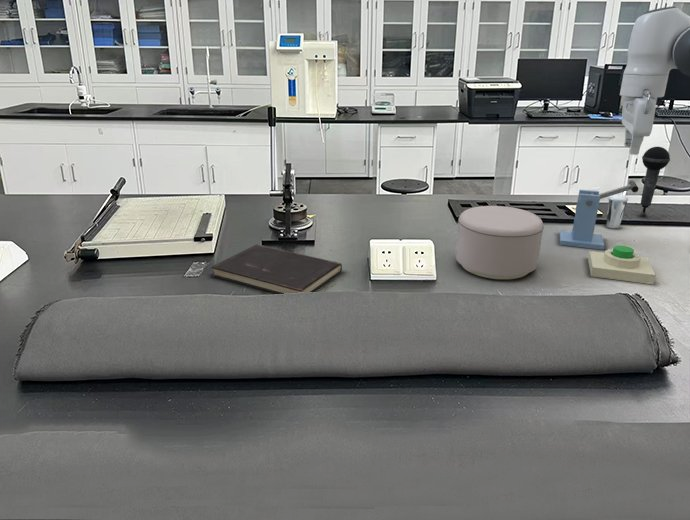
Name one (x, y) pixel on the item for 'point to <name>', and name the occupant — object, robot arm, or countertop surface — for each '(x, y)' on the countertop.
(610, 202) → the milkshake
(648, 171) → the microphone
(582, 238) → the lever bracket
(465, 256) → the container
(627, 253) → the light button
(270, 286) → the hardcover book
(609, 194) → the light lever
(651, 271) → the switch block
